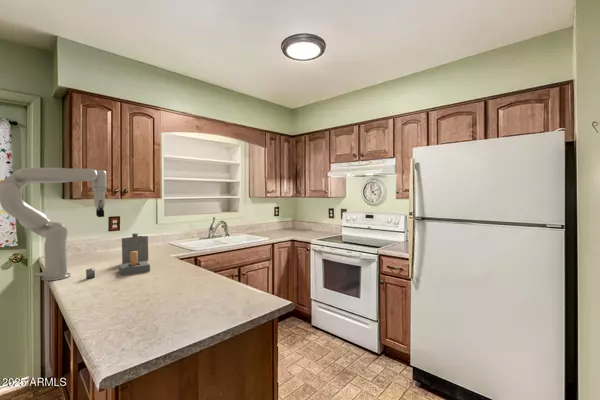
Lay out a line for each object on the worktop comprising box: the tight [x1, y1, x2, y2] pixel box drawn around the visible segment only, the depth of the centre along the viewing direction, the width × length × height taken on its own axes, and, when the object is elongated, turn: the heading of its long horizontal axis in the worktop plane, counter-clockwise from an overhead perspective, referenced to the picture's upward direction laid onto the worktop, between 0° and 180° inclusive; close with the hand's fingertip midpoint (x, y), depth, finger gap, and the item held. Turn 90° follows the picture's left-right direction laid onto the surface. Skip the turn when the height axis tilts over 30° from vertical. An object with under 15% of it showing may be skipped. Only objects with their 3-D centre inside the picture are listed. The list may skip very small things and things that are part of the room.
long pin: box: [130, 251, 138, 266], centre depth 179 cm, size 4×4×12 cm
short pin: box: [85, 267, 96, 280], centre depth 165 cm, size 4×4×5 cm
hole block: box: [118, 261, 151, 276], centre depth 179 cm, size 15×12×4 cm
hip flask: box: [121, 232, 149, 264], centre depth 201 cm, size 16×4×20 cm, turn 127°
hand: (100, 216), depth 184 cm, fingers open, 9 cm apart
